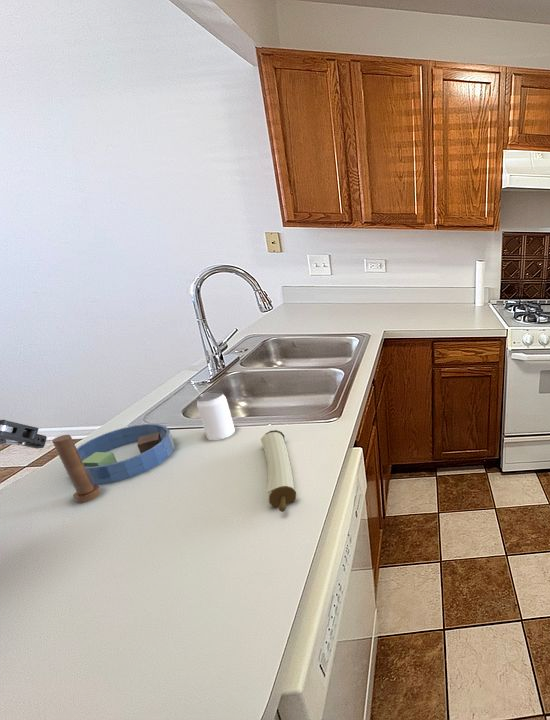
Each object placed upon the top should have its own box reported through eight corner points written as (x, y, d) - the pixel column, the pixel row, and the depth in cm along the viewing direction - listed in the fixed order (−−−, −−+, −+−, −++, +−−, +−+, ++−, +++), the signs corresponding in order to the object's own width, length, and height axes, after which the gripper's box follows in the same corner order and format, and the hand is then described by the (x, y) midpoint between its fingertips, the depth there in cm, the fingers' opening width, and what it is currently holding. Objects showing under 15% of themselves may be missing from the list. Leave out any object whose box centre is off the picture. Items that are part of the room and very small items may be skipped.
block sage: (86, 477, 89) (79, 462, 87) (101, 466, 93) (95, 452, 91) (103, 477, 89) (97, 462, 87) (118, 466, 93) (113, 452, 91)
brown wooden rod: (71, 507, 81) (41, 445, 76) (84, 494, 85) (56, 434, 79) (95, 503, 82) (66, 442, 76) (106, 490, 86) (80, 431, 80)
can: (233, 426, 110) (222, 387, 106) (237, 436, 105) (226, 396, 101) (205, 434, 106) (193, 394, 102) (209, 445, 102) (196, 403, 97)
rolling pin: (300, 514, 79) (296, 494, 77) (269, 525, 76) (264, 504, 75) (286, 437, 105) (283, 420, 103) (262, 442, 103) (258, 426, 101)
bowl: (55, 493, 85) (46, 474, 83) (106, 446, 101) (98, 429, 99) (154, 479, 89) (147, 460, 87) (187, 436, 106) (181, 419, 104)
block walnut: (142, 458, 95) (137, 444, 94) (143, 450, 98) (138, 437, 97) (163, 453, 97) (158, 439, 96) (163, 445, 100) (158, 432, 99)
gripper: (-28, 391, 57) (67, 420, 72) (-148, 399, 55) (-24, 427, 70) (-49, 444, 54) (55, 462, 69) (-177, 453, 52) (-41, 470, 67)
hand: (15, 444), depth 69 cm, fingers open, 8 cm apart
